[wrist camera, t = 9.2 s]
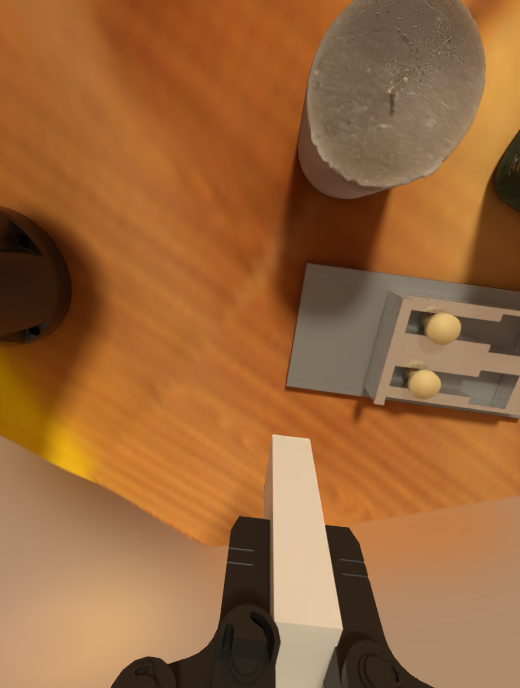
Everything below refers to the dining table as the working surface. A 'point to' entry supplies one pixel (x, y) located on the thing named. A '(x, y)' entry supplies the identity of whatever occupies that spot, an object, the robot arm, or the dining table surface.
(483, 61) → the pillar candle
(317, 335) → the board
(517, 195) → the coffee jar
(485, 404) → the keyhole panel
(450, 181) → the dining table surface
